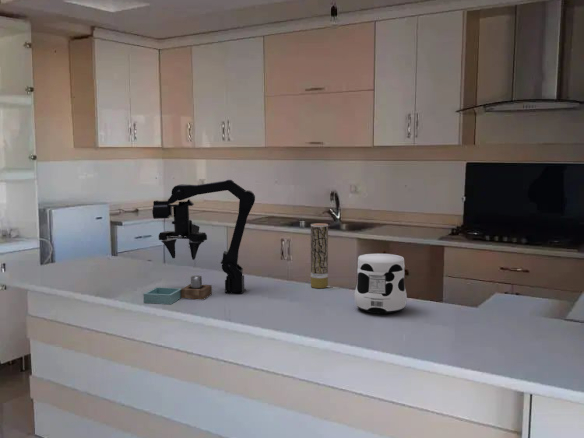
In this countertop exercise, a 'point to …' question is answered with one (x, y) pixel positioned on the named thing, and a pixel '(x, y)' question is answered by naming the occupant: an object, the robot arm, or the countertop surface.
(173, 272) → the countertop surface
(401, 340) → the countertop surface
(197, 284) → the translucent grey cylinder
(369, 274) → the milk container
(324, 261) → the bark textured cylinder
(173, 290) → the tray
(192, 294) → the block
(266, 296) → the countertop surface
